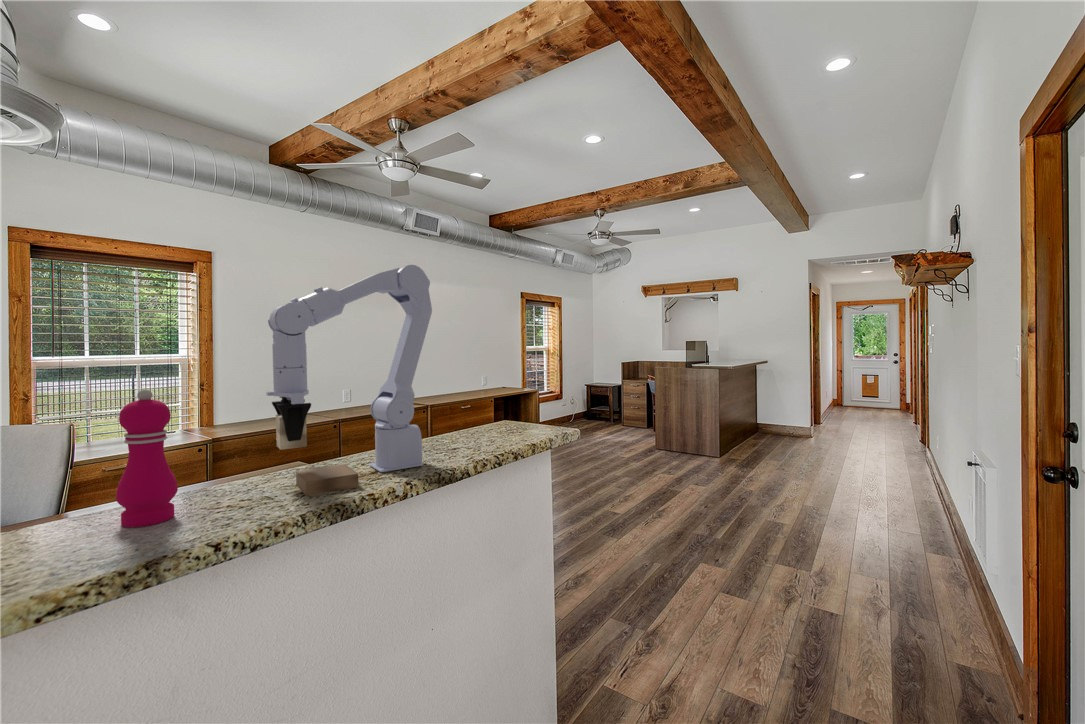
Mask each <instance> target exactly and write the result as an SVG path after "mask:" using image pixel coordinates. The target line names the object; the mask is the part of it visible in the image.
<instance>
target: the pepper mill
mask: <svg viewBox="0 0 1085 724" xmlns="http://www.w3.org/2000/svg"><path fill="white" fill-rule="evenodd" d="M152 397H153V392H152V391H151V390H149V389H146V388H145V389H141V390H139V391H138V392H137V395H136V398H138V400H134V401H131V402H129V403H127V404H126V405H125V406H123V408H122V409H121V410H120V412H119V417H118V421H119V424H120V426H121V427H122V428H123V429H124V430H125V431H126V432H125V434H124V435H123V436H124V440H123V441H124V444H127V449H128V457H127V458H128V459H127V464H126V467H125V469H124V472H123V473H122V475H121V478H120V480H119V481H118V484H117V487H116V490H115V491H116V492H115V493H116V494H115V500H116V502H117V504H118V505H119V506H121V507H122V508H124V509H125V510H123V511H122V512H121V513H120V525H121V526H122V527H123V528H124V527H125V528H142V527H149V526H153V525H157V524H161V523H164V522H166V521H167V522H168V520H171V519H173V518H174V516H175V504H174V503H173V502H172V503H171V501H172V499H173V498H174V497H175V496H176V494H177V493H178V488H179V487H178V481H177V479H176V476H175V474H174V472H173V470H172V468H170V466H169V464H168V461H167V458H166V455H165V449H164V447H165V441H166V440H167V439H168V436H167V433H168V431H167V430H166V429H165V427H166V426H168V424H169V423H170V421H171V411H170V408H169V406H168V405H167V404H166V403H165V402H163V401H160V400H156V399H152Z"/></svg>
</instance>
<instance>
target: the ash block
mask: <svg viewBox="0 0 1085 724" xmlns="http://www.w3.org/2000/svg"><path fill="white" fill-rule="evenodd" d="M307 428H308V427H307V417H306V418H305V422H304V427H303V432H302V437H301V440H296V441H288V439H287V436H286V432H285V426H284V421H283V418H282V415H278V414H276V415H275V430H276V431H275V432H276V433H275V434H276V435H275V436H276V447H277V448H278V449H279V450H280V451H281V450H289V449H298V448H305V447H306V448H307V446H308V438H307V437H308V434H307Z"/></svg>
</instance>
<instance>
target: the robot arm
mask: <svg viewBox="0 0 1085 724" xmlns="http://www.w3.org/2000/svg"><path fill="white" fill-rule="evenodd" d="M430 285H431V281H430V279H429V277H428V276H427V274H426V272H425V271H424V270H423V269H422V268H421V267H420V266H418V265H416V264H407V265H405V266H404V267H397V268H393V269H388V270H385V271H381V272H378V273H375V274H372V275H369V276H367V277H365V278H363V279H361V280H358V281H355V282H353V283H352V284H350V285H349V284H348V285H347V286H345V287H343V288H341V289H338V290H337V289H333V288H331V287H325V288H323V287H322V286H320V287H319V286H318V287H317V288H314V289H313V292H314V293H313V292H312V293H310V294H308V295H306V296H302V297H300V298H298V297H294V298H292V299H290V302H286V304H283V305H281V306H278V307H276V308H274V309H273V310H272V311H271V313H270V316H269V319H268V320H267V323H268V326H269V328H270V330H271V331H272V347H271V348H272V369H273V370H272V371H273V374H272V375H273V381H272V383H273V390H272V391H266V396H268V397H269V396H270V397H271V396H272V397H279V399H280V400H276V401H271V404H272V406H273V409H275V410H274V411H276V412H275V413H276V415H282V418H283V421H284V426H285V432H286V436H287V439H288V441H296V440H301V437H302V432H303V427H304V422H305V418H306V419H307V416H308V413H309V411H310V409H311V408H312V403H311V402H306V399H305V396H307V395H308V394H309V392H310V391H309V389H308V367H307V366H308V363H307V362H308V361H307V343H306V342H307V341H306V331H307V330H308V329H309V327H315V326H317V325H319V324H321V323H323V322H325V321H327V320H330V319H332V318H335V317H337V316H339V315H341V314H342V313H343V311H344V309H345V306H346V305H347V304H351V303H352V302H354V301H357V300H359V299H360V300H361V299H362V298H364V297H367V296H369V295H372V294H375V293H379V294H382V295H383V294H388V295H389V296H390V297H391V298H392V299H393V300H395V301H396V302H397V303H398V304H399V305H400V307H401V308H402V309H403V311H404V313H405V316H404V321H403V324H402V327H401V332H400V334H399V338H398V341H397V344H396V345H397V346H396V347H395V352H394V355H393V358H392V363H391V365H390V369H389V372H388V376H387V379H386V381H385V382H384V383H383V384H382V386H381V387H380V389H379V392H378V394H377V395H376V397H375V398H374V399H373V400H372V402H371V404H370V414H371V417H372V418H373V419H374V420H375V424H374V430H375V431H374V439H375V440H374V441H375V443H374V445H375V446H374V448H375V449H374V453H375V462H370V463H369V467H372V468H373V469H374V470H376V471H378V472H380V473H386V472H393V471H399V470H405V469H410V468H417V467H422V466H424V463H423V455H422V454H423V447H422V446H423V445H422V443H423V442H422V440H423V439H422V437H423V436H422V432H421V429H420V427H419V425H418V424H410V423H411V421H412V420H413V418H414V416H415V415H414V414H415V406H414V399H415V392H414V390H413V381H414V377H415V374H416V371H417V367H418V363H419V361H420V357H421V353H422V349H423V347H424V342H425V339H426V335H427V331H428V328H429V324H430V320H431V317H432V312H433V307H432V302H431V297H430V296H431V295H430V290H429V289H430Z"/></svg>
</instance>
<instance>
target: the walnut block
mask: <svg viewBox="0 0 1085 724" xmlns="http://www.w3.org/2000/svg"><path fill="white" fill-rule="evenodd" d="M295 472H296V473H295V474H296V475H295V478H296V479H295V480H296V486H297V488H298V489H299V490H300V491H301V492H302V494H303V495H304V496H305V497H311V496H315V495H321V494H322V495H323V494H329V493H332V492H339V491H345V490H350V489H357V488H359V473H358V472H357V471H355V470H354V469H352V468H351V467H350V466H349V465H347V463H344V464H338V465H330V466H325V467H324V466H323V467H317V468H310V469H309V468H308V469H302V470H296V471H295Z"/></svg>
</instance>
